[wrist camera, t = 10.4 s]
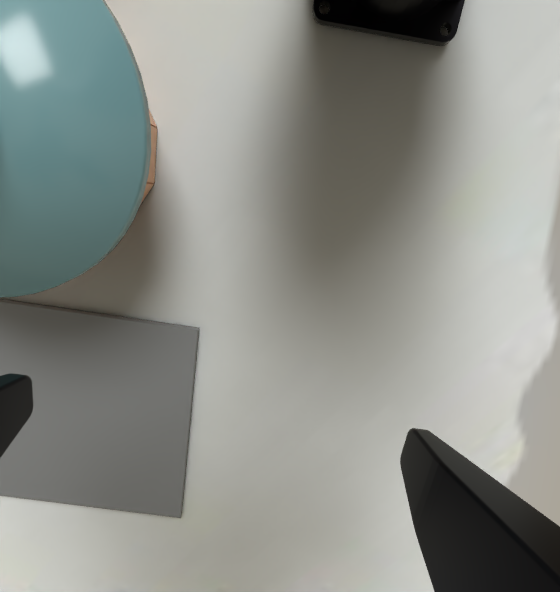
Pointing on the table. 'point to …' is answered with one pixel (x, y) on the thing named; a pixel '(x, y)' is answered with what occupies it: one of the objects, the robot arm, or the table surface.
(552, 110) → the table surface
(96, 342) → the mat
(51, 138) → the lid
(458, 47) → the table surface
